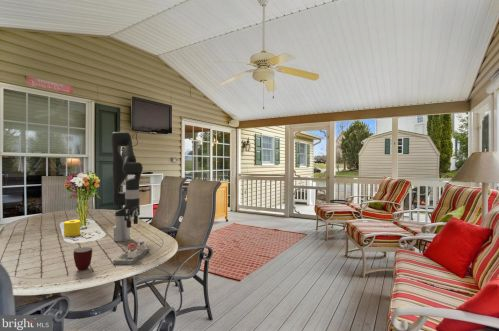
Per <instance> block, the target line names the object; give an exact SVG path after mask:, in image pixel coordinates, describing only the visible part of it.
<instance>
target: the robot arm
mask: <svg viewBox="0 0 499 331" xmlns="http://www.w3.org/2000/svg"><path fill="white" fill-rule="evenodd" d="M119 147H124V148H123V149H122V150H121V153H120V151H119ZM111 148H112V184H113V186H112V203H113V205H114V206H124V207H123V208H121V209H118V210H116V211H115V213H114V225H115V226H114V227H113V241H114V242H118V243H121V242H128V241H130V239H131V236H130V234H131V228H132V218H133V225H138V224H139V222H138V221H139V218H138V217H139V216H140V215H141V213H140V212H141V210H140V209H141V208H140V207H141V206H140V204H141V202H140V200H141V199H140V198H141V197H140V180H141V176H142V172H143V168H144V167H143V164H142V163H141V162H137V158H136V155H135V153H134V146H133V142H132V136H131V133H129V132H127V131H113V132H112V134H111ZM131 175H132V176H133V175H134V177H132V178H128V179H127V177H128V176H131ZM124 182H125V191H119V189H120V188H121V186H122V184H123V183H124Z"/></svg>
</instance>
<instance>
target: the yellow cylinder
mask: <svg viewBox="0 0 499 331" xmlns="http://www.w3.org/2000/svg"><path fill="white" fill-rule="evenodd" d="M78 235H81V220H79V219H75V220H74V219H72V220H66V221H64V222H63V236H64V237H76V236H78Z"/></svg>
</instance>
